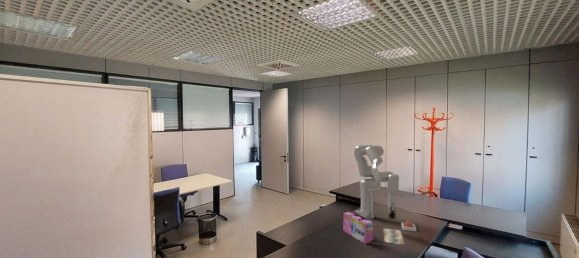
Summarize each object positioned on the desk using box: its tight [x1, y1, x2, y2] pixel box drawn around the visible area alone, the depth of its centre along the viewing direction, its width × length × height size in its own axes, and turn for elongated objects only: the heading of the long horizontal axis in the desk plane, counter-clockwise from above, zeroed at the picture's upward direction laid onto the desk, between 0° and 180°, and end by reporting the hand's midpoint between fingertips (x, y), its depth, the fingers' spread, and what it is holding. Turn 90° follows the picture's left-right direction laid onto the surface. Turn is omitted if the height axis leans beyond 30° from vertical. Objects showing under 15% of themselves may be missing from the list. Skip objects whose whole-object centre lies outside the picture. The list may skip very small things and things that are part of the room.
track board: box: [382, 228, 405, 245], centre depth 176 cm, size 12×22×1 cm, turn 163°
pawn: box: [387, 207, 397, 220], centre depth 182 cm, size 5×5×9 cm
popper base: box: [400, 221, 417, 232], centre depth 188 cm, size 9×9×3 cm
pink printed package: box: [342, 210, 375, 245], centre depth 178 cm, size 24×8×14 cm, turn 28°
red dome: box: [404, 220, 413, 228], centre depth 188 cm, size 5×5×6 cm
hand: (391, 215), depth 183 cm, fingers closed on pawn, 4 cm apart
